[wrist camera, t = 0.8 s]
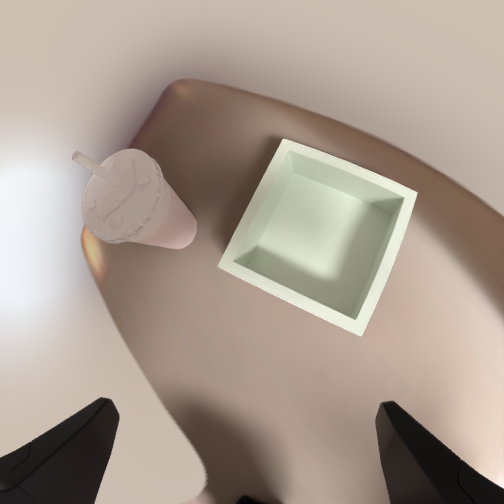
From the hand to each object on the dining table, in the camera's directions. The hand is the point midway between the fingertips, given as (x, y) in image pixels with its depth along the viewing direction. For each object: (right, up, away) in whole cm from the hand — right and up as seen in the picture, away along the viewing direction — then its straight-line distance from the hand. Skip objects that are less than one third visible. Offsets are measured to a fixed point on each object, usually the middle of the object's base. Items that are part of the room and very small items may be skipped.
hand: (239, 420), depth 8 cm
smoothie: (-6, +7, +18) cm, 21 cm away
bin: (+6, +6, +15) cm, 17 cm away
